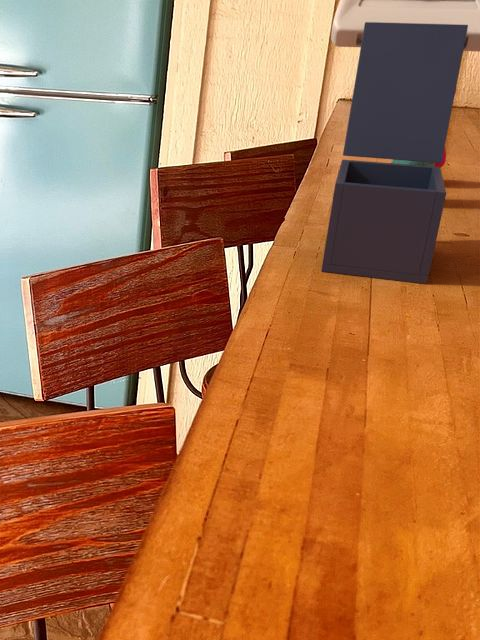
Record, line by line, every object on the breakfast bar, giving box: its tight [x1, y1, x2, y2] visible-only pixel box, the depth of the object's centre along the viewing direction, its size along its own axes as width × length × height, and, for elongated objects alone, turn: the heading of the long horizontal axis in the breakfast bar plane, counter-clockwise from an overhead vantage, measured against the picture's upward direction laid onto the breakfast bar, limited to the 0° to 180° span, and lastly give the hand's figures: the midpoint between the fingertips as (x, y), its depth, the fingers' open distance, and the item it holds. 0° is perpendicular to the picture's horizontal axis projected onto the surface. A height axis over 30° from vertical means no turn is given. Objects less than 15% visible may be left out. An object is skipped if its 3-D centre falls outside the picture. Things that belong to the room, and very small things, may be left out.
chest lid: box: [342, 22, 468, 163], centre depth 114 cm, size 17×12×1 cm
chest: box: [320, 159, 447, 285], centre depth 112 cm, size 16×12×11 cm
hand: (406, 69), depth 115 cm, fingers closed
